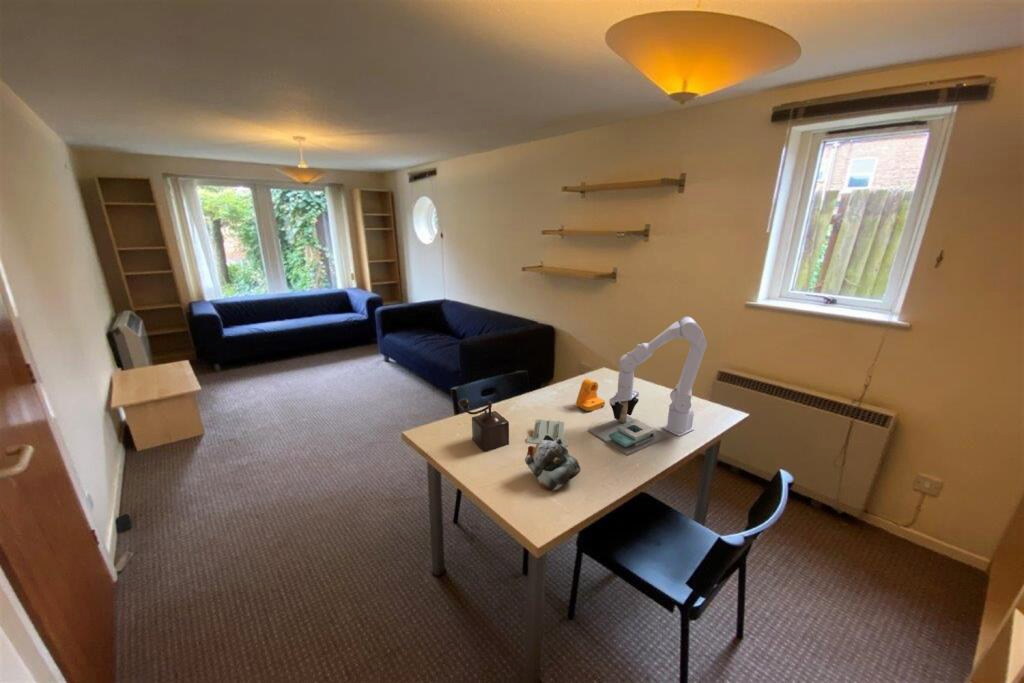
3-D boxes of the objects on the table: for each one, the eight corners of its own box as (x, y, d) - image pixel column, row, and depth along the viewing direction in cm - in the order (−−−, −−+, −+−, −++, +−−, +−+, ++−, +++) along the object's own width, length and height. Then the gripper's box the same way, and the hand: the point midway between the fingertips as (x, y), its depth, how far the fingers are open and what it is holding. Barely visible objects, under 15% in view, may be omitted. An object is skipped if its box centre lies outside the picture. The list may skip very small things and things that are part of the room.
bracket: (587, 413, 168) (589, 387, 165) (576, 406, 174) (577, 381, 171) (605, 406, 174) (607, 381, 171) (593, 400, 180) (595, 376, 176)
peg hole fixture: (635, 428, 154) (636, 419, 153) (654, 438, 147) (655, 429, 146) (607, 439, 146) (608, 430, 145) (626, 451, 139) (627, 441, 138)
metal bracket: (530, 414, 156) (569, 417, 153) (531, 424, 159) (569, 428, 156) (525, 441, 144) (567, 445, 141) (526, 452, 147) (567, 456, 144)
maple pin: (622, 419, 161) (623, 399, 159) (627, 422, 159) (629, 402, 156) (616, 421, 160) (618, 401, 157) (622, 424, 157) (624, 403, 155)
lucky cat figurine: (545, 497, 117) (526, 454, 117) (533, 487, 128) (516, 448, 129) (587, 473, 121) (569, 431, 121) (572, 466, 132) (555, 427, 133)
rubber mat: (626, 416, 165) (626, 415, 165) (667, 437, 149) (668, 436, 149) (587, 431, 154) (587, 429, 154) (627, 455, 138) (627, 454, 138)
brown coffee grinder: (495, 431, 154) (494, 388, 149) (509, 444, 145) (509, 399, 140) (458, 442, 146) (456, 397, 141) (471, 457, 137) (469, 410, 132)
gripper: (630, 378, 162) (627, 408, 166) (604, 385, 154) (602, 417, 158) (644, 383, 156) (641, 414, 160) (618, 392, 149) (615, 424, 153)
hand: (622, 416), depth 159 cm, fingers open, 6 cm apart
